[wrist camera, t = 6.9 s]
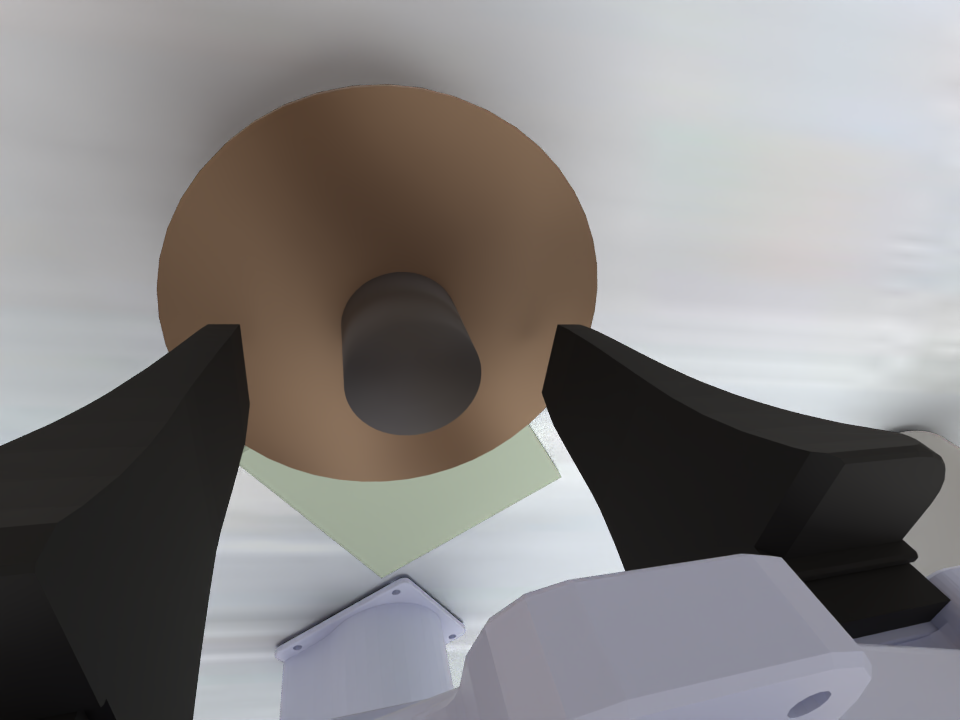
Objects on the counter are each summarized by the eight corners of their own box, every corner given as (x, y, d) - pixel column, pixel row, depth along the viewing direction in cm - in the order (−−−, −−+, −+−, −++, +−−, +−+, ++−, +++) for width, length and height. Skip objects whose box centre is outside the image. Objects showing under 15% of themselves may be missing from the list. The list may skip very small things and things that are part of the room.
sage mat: (381, 572, 30) (381, 578, 29) (233, 453, 23) (232, 459, 23) (558, 472, 29) (561, 477, 29) (461, 317, 22) (463, 322, 22)
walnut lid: (347, 518, 17) (351, 604, 15) (41, 257, 11) (-49, 328, 8) (633, 353, 16) (691, 413, 14) (482, -27, 10) (536, -50, 8)
